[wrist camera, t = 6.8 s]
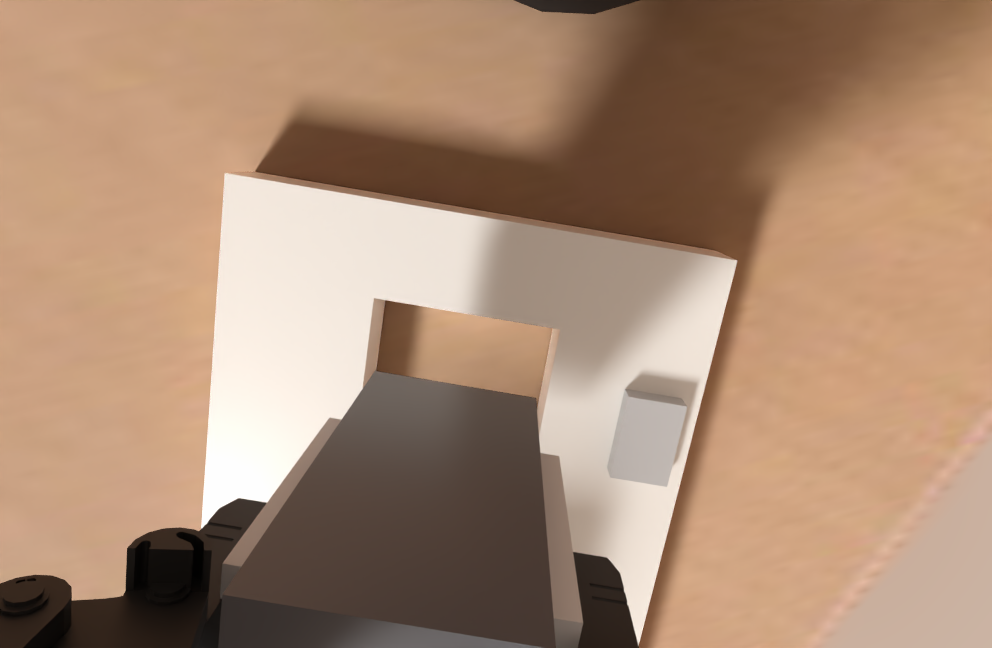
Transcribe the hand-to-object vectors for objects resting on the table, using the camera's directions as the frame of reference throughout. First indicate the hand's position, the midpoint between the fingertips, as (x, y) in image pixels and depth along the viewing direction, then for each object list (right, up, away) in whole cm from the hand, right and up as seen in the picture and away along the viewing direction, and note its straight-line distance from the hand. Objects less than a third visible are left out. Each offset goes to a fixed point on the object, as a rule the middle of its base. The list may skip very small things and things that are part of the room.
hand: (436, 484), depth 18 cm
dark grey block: (0, 0, +2) cm, 2 cm away
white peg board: (-1, -3, +9) cm, 10 cm away
